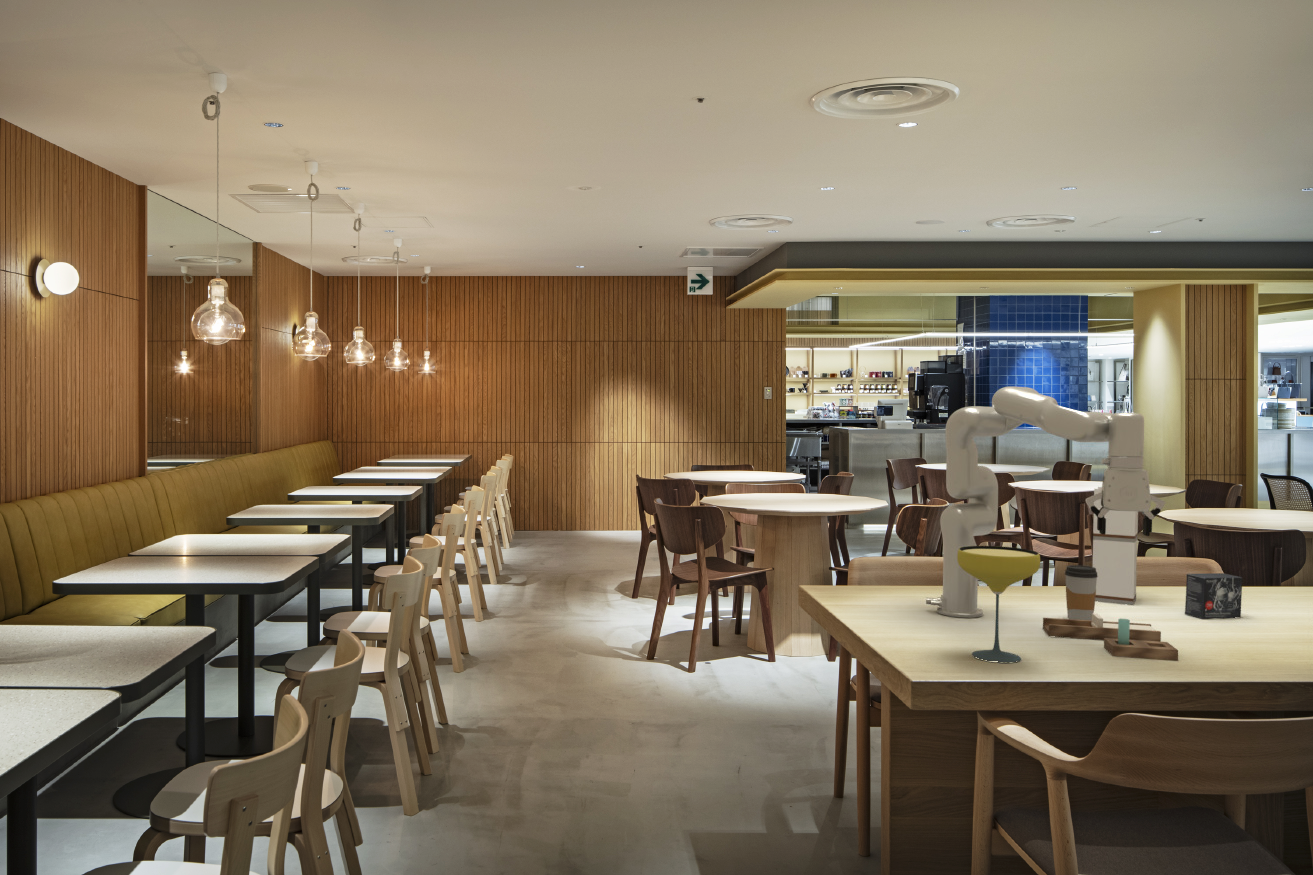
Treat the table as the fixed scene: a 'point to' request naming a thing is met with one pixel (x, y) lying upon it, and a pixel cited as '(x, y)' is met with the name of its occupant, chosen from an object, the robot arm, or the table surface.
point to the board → (1093, 630)
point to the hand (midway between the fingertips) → (1124, 534)
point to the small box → (1213, 595)
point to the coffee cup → (1080, 591)
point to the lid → (1098, 622)
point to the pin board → (1141, 649)
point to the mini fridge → (1116, 556)
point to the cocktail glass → (998, 580)
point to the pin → (1123, 631)
